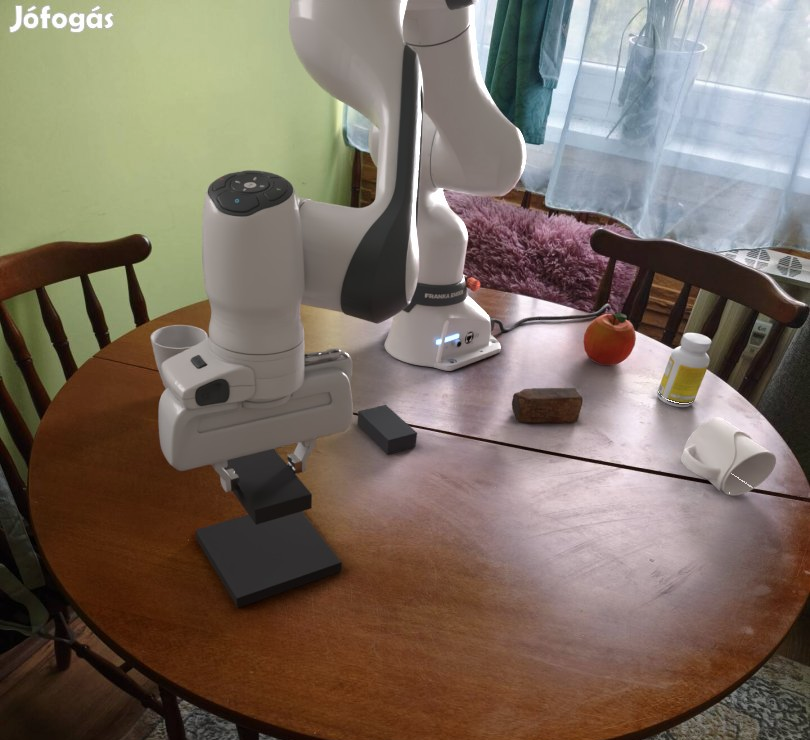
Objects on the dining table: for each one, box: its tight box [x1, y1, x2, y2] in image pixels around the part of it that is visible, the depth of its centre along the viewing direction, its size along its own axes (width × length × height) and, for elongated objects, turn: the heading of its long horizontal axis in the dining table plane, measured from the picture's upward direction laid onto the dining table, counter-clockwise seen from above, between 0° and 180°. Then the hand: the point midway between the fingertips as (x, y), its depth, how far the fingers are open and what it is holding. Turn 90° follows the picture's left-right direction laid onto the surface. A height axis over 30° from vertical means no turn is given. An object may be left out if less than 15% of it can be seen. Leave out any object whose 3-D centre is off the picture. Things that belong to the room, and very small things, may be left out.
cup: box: [150, 324, 209, 389], centre depth 106 cm, size 8×8×10 cm
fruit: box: [582, 311, 637, 366], centre depth 131 cm, size 10×10×10 cm
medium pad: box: [224, 448, 313, 525], centre depth 76 cm, size 6×10×2 cm, turn 33°
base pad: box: [194, 511, 343, 609], centre depth 83 cm, size 13×13×2 cm
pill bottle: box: [657, 332, 712, 408], centre depth 120 cm, size 6×6×12 cm
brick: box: [511, 387, 584, 424], centre depth 113 cm, size 11×4×5 cm, turn 100°
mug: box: [680, 417, 777, 497], centre depth 102 cm, size 12×9×8 cm
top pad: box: [356, 404, 418, 455], centre depth 105 cm, size 5×9×2 cm, turn 32°
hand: (264, 479), depth 76 cm, fingers closed on medium pad, 6 cm apart
